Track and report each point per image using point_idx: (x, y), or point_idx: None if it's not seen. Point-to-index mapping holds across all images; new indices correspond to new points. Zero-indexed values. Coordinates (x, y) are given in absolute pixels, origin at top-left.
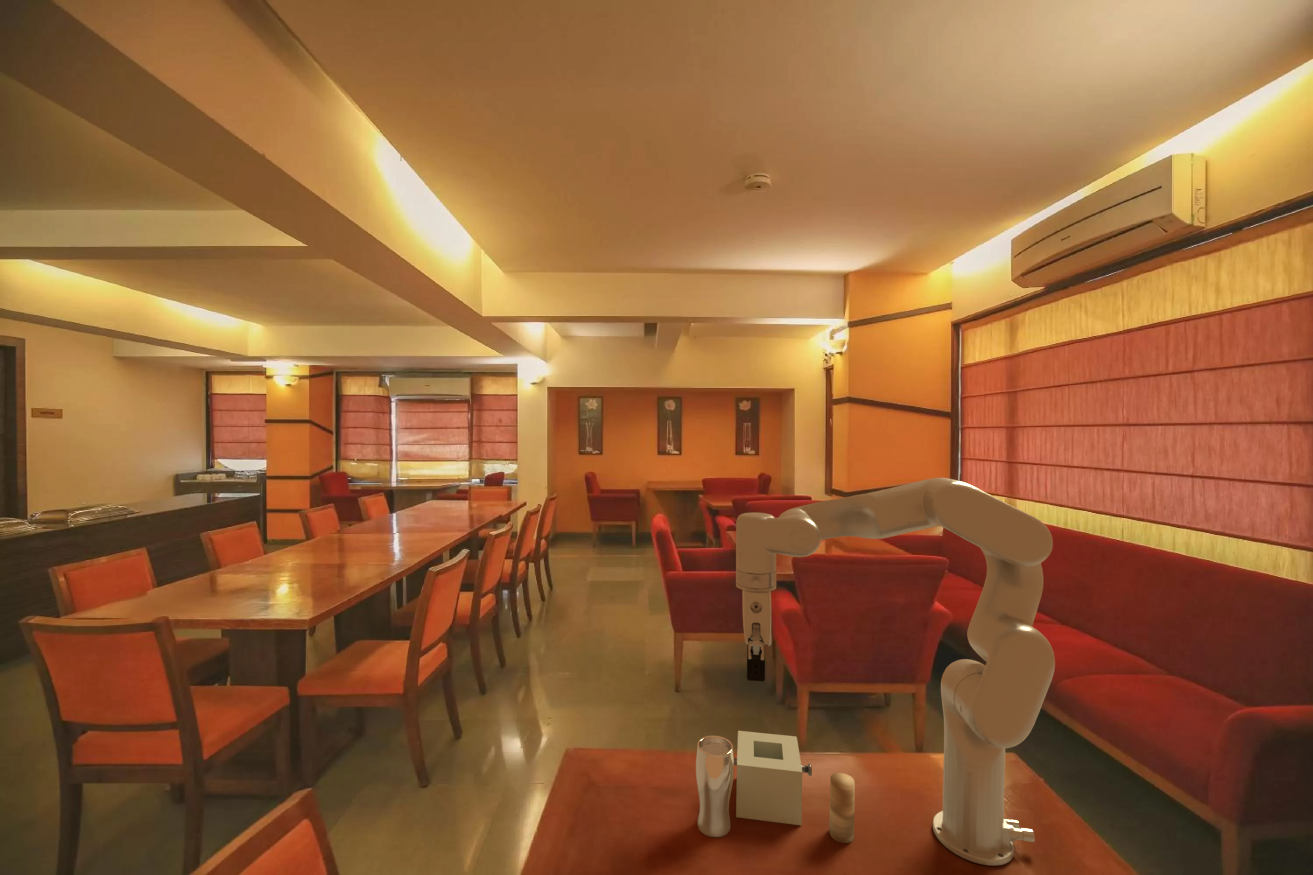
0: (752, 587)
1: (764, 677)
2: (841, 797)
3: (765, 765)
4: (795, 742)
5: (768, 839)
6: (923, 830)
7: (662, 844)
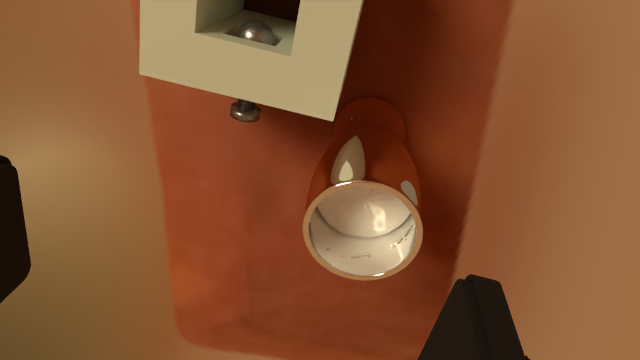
0: None
1: (502, 301)
2: None
3: (341, 28)
4: None
5: (426, 15)
6: None
7: None
